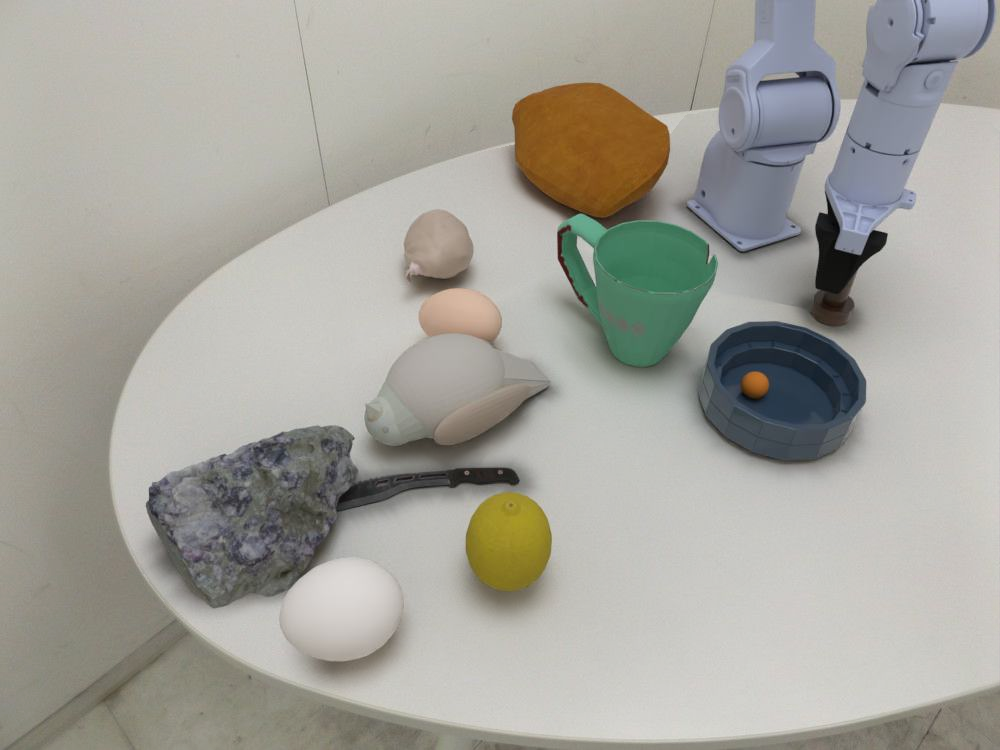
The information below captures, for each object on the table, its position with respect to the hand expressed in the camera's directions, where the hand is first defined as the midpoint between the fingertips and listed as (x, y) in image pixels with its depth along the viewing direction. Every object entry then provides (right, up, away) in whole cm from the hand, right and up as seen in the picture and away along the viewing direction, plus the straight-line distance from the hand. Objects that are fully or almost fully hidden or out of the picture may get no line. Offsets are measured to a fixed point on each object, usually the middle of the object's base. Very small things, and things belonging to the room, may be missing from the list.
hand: (830, 275), depth 76 cm
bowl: (-7, -12, -6) cm, 15 cm away
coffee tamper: (+1, -3, +2) cm, 4 cm away
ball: (-9, -10, -7) cm, 15 cm away
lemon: (-29, -23, -19) cm, 41 cm away
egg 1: (-35, -22, -24) cm, 48 cm away
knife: (-36, -18, -15) cm, 43 cm away
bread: (-18, +12, +18) cm, 28 cm away
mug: (-19, -5, -1) cm, 20 cm away
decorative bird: (-33, -12, -8) cm, 36 cm away
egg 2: (-30, -5, -7) cm, 31 cm away
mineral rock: (-48, -15, -17) cm, 53 cm away
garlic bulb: (-33, +4, +5) cm, 33 cm away
